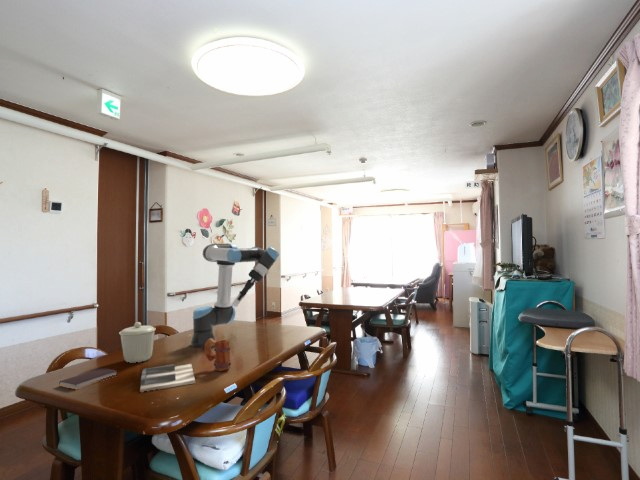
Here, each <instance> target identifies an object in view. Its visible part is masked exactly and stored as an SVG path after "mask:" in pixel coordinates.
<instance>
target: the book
mask: <svg viewBox="0 0 640 480" xmlns="http://www.w3.org/2000/svg"><path fill="white" fill-rule="evenodd" d="M117 372H118V371H117V370H115V369H110V368H105V367H104V368H103V367H99V368H97V369H94V370H90V371H88V372H85V373H82V374H79V375H75V376H72V377H70V378H66V379H63V380H59V384H60V383H61V384H65V385H69V386H73V387H79V386H82V385H85V384H88V383H90V382H93V381H96V380H100V379H103V378H106V377H109V376H112V375H116V374H117Z"/></svg>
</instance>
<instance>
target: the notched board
mask: <svg viewBox="0 0 640 480" xmlns="http://www.w3.org/2000/svg"><path fill="white" fill-rule="evenodd" d="M191 384H196V379H195V374H194V370H193V366H192V363H188V364H182V365H181V364H180V365H175V364H167V365H160V366H154V367H148V368H143V369H142V372H141V377H140V389H139V392H141V393H145V392H144V391H147V392H151V391H150V390H153V391H157V390H156V389H158V390H163V389H168V388H169V389H170V388H174V387H179V386H187V385H191Z"/></svg>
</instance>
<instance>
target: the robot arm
mask: <svg viewBox="0 0 640 480" xmlns="http://www.w3.org/2000/svg"><path fill="white" fill-rule="evenodd" d="M202 256H203V258H204V260H206V261H207V262H211V263H216V265H217V266H218V277H217V296H216V297H217V298H216V302H215V303H214V305H213V306H214V307H213V306H211V305H205V306H200V307H198V308H196V309H194V310H193V313H192V319H193V320H192V321H193V323H192V326H193V334H192V337H191V340H190V346H191V347H192V348H204V347H205V343H206V341H207V340H208V339H210V338H212V339H214V340H215V341H217V340H216V336H215V333H214V331H213V329H214V328H213V327H215V326H220V325H221V326H222V325H226V324H227V325H228V324H230V323H232V322H234V320H235V318H236V308H237V307H238V306H239V304H240V303H241V301H242V300H243V299H244V298H245V296H246V295H247V293H248V292H249V291H250V289H252V287H253V286H254V285H255V283H256V282H257V283H261V282H262V280H263V278H264V277H265V275H266V274H269V272H268V271H269V270H270V269H271V267H272V266H273V265H274V263H275V262H276V261H277V259H278V258H279V256H280V253H279V251H277V250H276V249H275V248H273V247H271V246H269V247H268V248H267V249H264V248H261V247H258V246H252V247H250V248H238V246H237V245H236V244H234V243H211V244H208V245H206V246H205V247H204V248H203V250H202ZM250 262H251V263H252V262H256V263H255V264H254V265H253V267H252V269H251V270H250V272H249V273H248V276H249V277H250V279H247V281H246V283H245V284H244V287H243V288H242V290H240V291H239V293H238V294H237V296H236V297H235V299H234V300H233V301H232V302H231V297H232V294H231V293H232V280H233V279H232V278H233V267H234V266H235V265H236V264H237V263H250Z"/></svg>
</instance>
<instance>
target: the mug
mask: <svg viewBox="0 0 640 480" xmlns="http://www.w3.org/2000/svg"><path fill="white" fill-rule="evenodd" d="M212 347H214V350H213V351H214V353H213V352H212ZM203 348H204V354H205V357H206V359H207V360H208V361H209V362H212V361H213V366H214V369H215V370H216V371H217V372H225V371H227V370H229V369H230V368H231V366H232V360H231V345H230V341H229V339H219V340H216V341H215V340H214V339H212V338H210V339H208V340H207V341H206V343H205V347H203Z"/></svg>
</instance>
